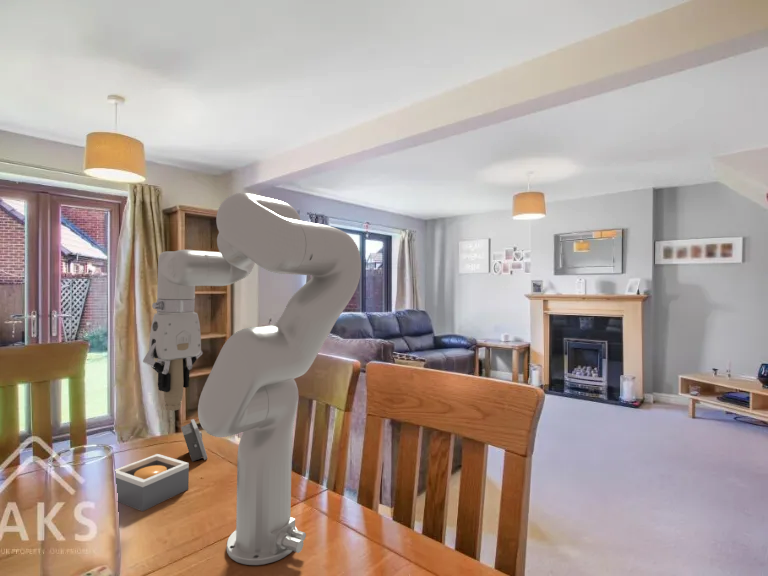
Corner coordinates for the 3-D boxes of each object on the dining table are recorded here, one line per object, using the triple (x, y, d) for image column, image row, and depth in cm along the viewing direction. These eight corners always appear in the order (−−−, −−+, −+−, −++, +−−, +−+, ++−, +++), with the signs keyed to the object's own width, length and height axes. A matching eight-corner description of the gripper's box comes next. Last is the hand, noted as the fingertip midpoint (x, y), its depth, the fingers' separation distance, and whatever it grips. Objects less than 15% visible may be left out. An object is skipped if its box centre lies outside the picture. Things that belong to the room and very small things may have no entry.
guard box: (188, 489, 97) (188, 463, 97) (142, 511, 87) (142, 482, 87) (157, 478, 102) (157, 453, 102) (110, 498, 92) (110, 471, 92)
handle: (170, 414, 91) (171, 345, 91) (155, 408, 95) (156, 341, 95) (191, 409, 95) (193, 343, 95) (176, 404, 99) (177, 339, 98)
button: (172, 477, 96) (173, 469, 96) (146, 489, 90) (146, 480, 90) (154, 471, 99) (154, 463, 99) (127, 482, 93) (127, 473, 93)
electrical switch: (207, 460, 113) (204, 426, 113) (186, 466, 111) (183, 431, 110) (203, 448, 121) (200, 416, 121) (183, 453, 119) (180, 421, 118)
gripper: (150, 309, 85) (148, 400, 86) (218, 306, 100) (215, 383, 100) (128, 307, 89) (126, 394, 89) (196, 304, 104) (194, 379, 104)
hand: (173, 387), depth 95 cm, fingers closed on handle, 3 cm apart
